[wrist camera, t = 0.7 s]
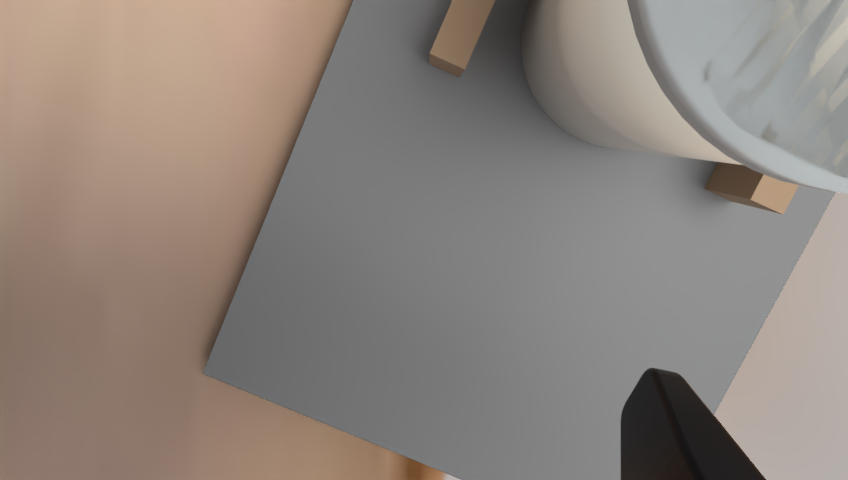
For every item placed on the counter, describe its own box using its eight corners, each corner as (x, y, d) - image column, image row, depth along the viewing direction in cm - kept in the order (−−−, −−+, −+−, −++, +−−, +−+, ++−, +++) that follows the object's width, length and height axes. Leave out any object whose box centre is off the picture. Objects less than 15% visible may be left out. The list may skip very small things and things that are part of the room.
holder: (628, 531, 24) (670, 614, 20) (213, 360, 23) (167, 412, 19) (982, -124, 20) (1123, -187, 16) (507, -364, 19) (530, -497, 15)
